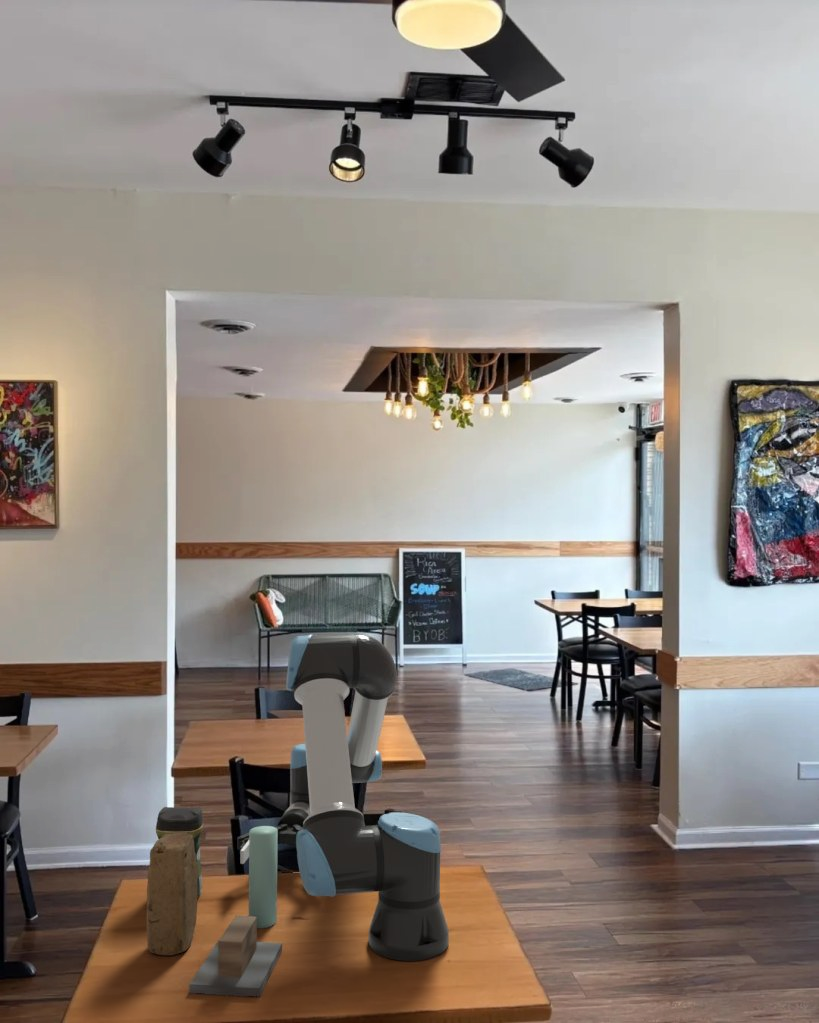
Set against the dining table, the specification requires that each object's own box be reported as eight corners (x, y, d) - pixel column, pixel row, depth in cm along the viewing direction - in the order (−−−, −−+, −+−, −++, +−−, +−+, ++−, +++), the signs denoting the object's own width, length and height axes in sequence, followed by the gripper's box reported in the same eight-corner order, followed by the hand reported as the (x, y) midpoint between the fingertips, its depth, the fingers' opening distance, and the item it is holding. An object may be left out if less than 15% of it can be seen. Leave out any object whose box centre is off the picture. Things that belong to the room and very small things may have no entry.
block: (182, 959, 162) (183, 848, 162) (142, 957, 163) (143, 847, 163) (201, 932, 173) (202, 828, 173) (163, 930, 174) (164, 826, 174)
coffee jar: (150, 904, 185) (151, 814, 185) (160, 888, 193) (161, 802, 193) (198, 904, 185) (199, 814, 186) (205, 888, 193) (206, 802, 194)
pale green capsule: (281, 917, 180) (282, 827, 180) (269, 929, 174) (270, 836, 174) (255, 914, 181) (256, 824, 181) (243, 926, 176) (244, 833, 176)
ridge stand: (218, 947, 167) (218, 907, 167) (281, 951, 166) (282, 910, 166) (189, 993, 151) (189, 948, 151) (259, 997, 150) (259, 952, 150)
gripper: (349, 842, 207) (332, 879, 186) (243, 838, 209) (215, 874, 188) (349, 810, 207) (333, 843, 186) (244, 805, 209) (215, 838, 188)
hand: (273, 858), depth 187 cm, fingers open, 13 cm apart
